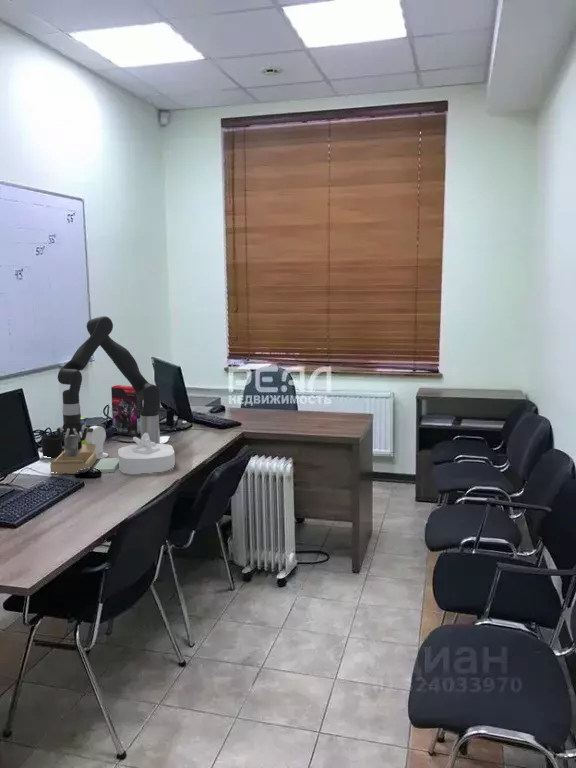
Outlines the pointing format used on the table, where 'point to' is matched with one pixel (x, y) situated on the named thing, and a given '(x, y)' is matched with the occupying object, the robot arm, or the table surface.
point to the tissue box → (145, 456)
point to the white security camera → (97, 439)
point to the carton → (74, 460)
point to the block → (71, 446)
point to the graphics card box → (126, 410)
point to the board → (107, 464)
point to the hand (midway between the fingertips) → (73, 449)
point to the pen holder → (51, 446)
